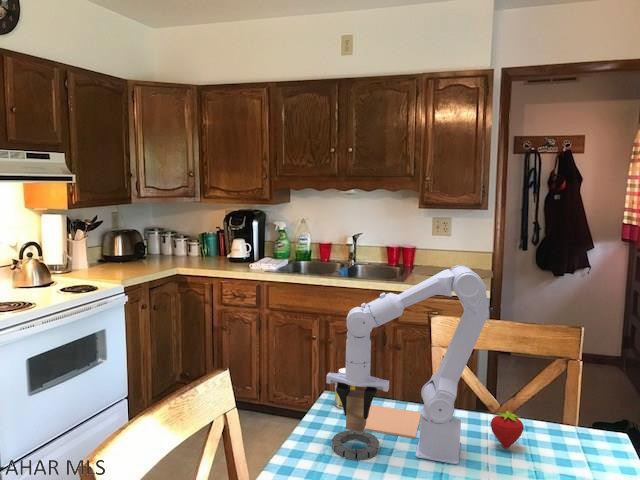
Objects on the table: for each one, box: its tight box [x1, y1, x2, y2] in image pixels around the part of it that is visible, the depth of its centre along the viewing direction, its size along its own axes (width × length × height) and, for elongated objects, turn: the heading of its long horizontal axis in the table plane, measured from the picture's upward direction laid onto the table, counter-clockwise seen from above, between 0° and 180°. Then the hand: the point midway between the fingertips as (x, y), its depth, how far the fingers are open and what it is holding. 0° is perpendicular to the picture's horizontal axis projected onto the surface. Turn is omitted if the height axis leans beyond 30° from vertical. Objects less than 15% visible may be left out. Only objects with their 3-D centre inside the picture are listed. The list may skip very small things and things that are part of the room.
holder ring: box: [331, 429, 381, 461], centre depth 121 cm, size 11×11×2 cm
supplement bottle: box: [334, 367, 356, 410], centre depth 142 cm, size 6×6×10 cm
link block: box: [345, 389, 366, 432], centre depth 120 cm, size 4×4×8 cm
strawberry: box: [490, 405, 524, 449], centre depth 122 cm, size 6×8×10 cm
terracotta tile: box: [363, 404, 421, 439], centre depth 134 cm, size 14×14×1 cm
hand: (356, 415), depth 120 cm, fingers closed on link block, 4 cm apart
